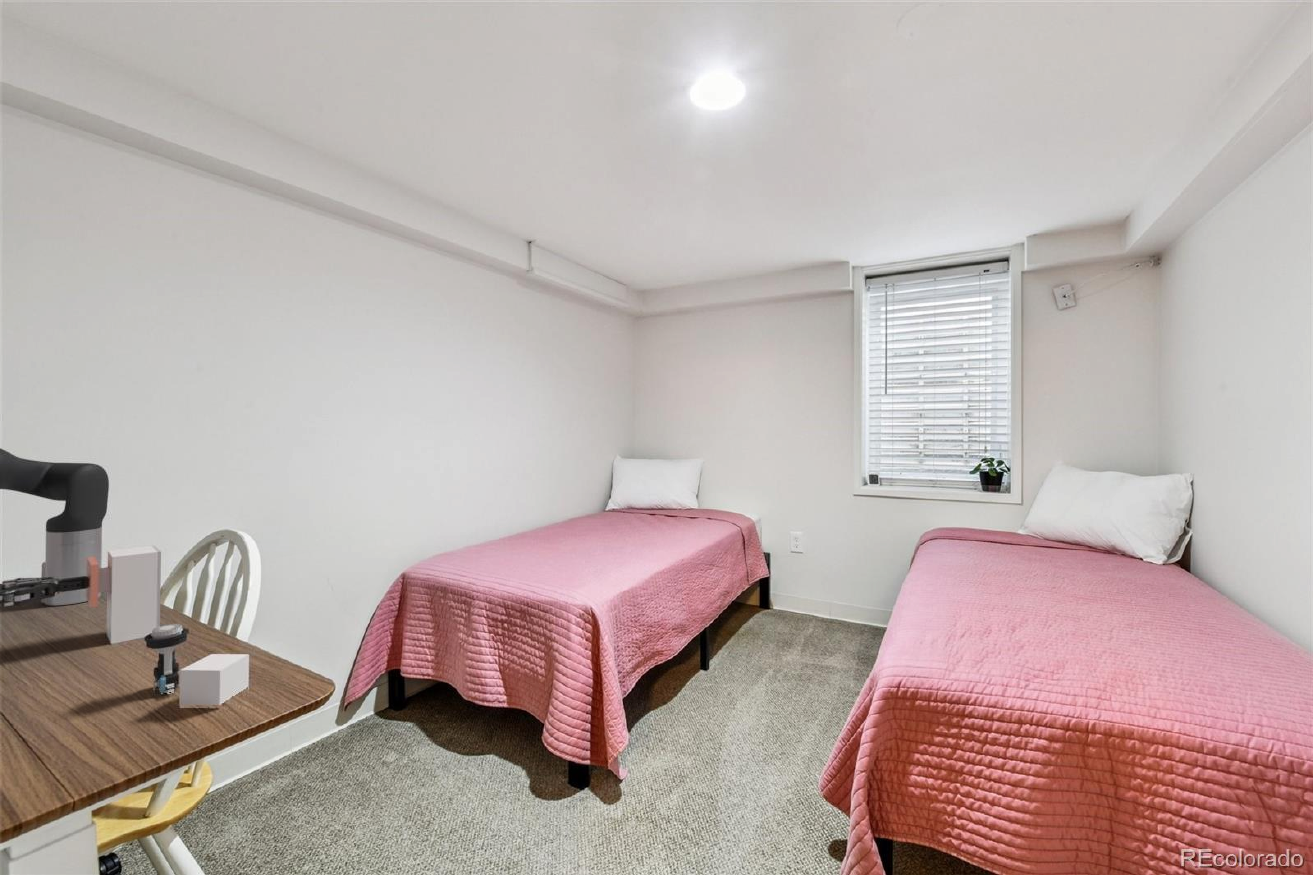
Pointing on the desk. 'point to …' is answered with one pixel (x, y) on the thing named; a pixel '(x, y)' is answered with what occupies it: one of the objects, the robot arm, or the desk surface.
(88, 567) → the plug
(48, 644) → the desk surface
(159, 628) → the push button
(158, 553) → the socket block
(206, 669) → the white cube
